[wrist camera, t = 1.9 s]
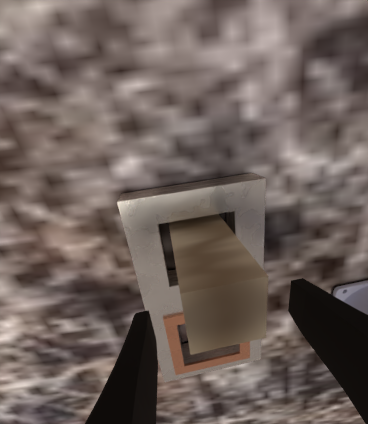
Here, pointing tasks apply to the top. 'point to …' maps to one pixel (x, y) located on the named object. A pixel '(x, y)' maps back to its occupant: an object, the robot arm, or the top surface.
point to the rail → (167, 280)
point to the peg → (218, 284)
